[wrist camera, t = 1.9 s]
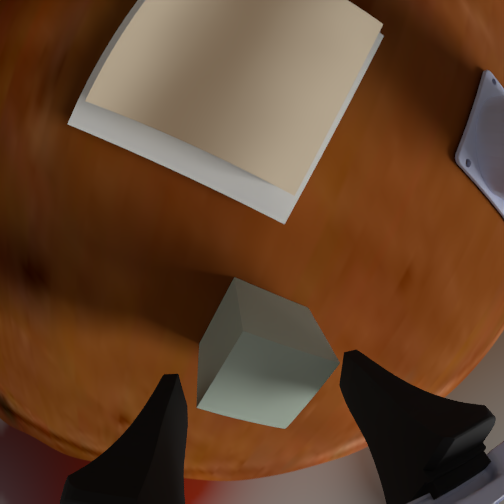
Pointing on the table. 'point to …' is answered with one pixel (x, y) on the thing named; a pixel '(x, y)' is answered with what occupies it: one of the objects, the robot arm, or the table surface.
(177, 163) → the grey base block
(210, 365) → the sage block
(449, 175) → the table surface
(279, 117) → the beech top block
